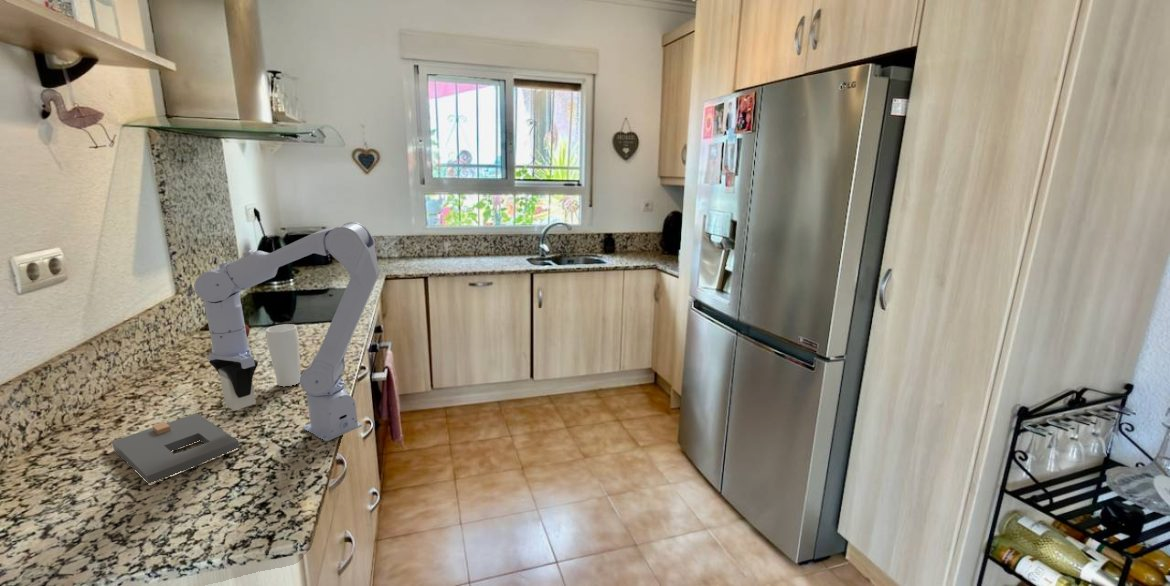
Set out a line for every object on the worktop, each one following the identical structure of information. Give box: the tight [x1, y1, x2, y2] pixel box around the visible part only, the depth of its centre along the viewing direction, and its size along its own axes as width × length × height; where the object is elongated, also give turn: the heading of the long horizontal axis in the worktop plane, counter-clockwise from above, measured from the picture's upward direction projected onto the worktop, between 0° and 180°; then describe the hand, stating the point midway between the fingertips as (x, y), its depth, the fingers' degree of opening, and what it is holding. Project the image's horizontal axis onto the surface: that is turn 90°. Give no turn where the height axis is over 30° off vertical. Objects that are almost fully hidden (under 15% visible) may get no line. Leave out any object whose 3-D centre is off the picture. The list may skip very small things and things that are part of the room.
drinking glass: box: [265, 323, 302, 388], centre depth 125 cm, size 7×7×15 cm
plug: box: [218, 368, 257, 412], centre depth 100 cm, size 4×4×8 cm
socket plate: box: [111, 412, 240, 483], centre depth 97 cm, size 20×14×3 cm
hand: (239, 392), depth 101 cm, fingers closed on plug, 4 cm apart
